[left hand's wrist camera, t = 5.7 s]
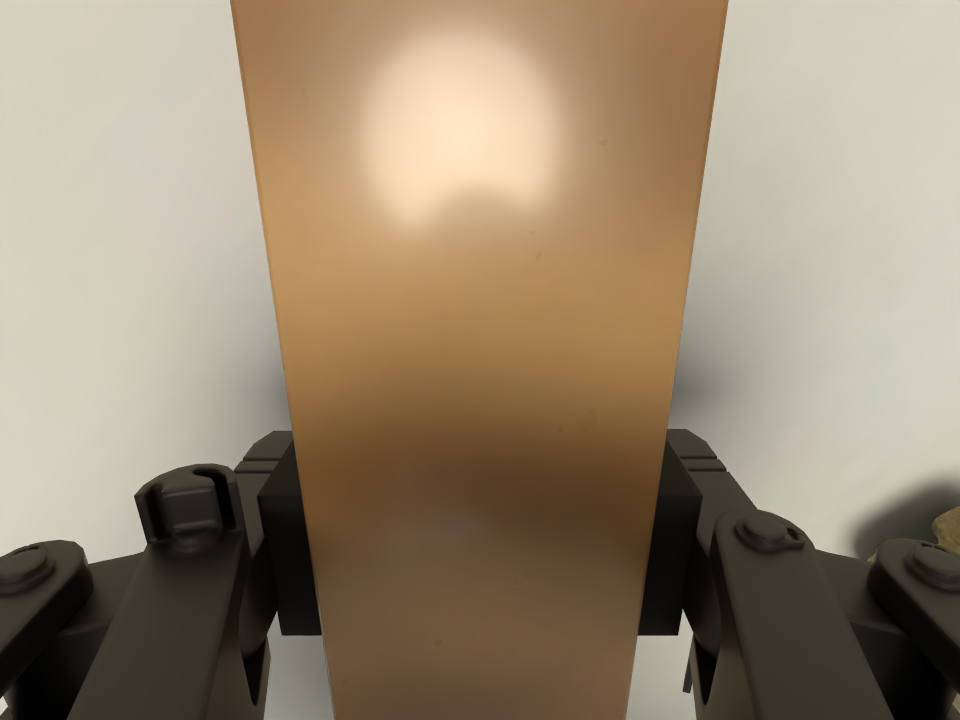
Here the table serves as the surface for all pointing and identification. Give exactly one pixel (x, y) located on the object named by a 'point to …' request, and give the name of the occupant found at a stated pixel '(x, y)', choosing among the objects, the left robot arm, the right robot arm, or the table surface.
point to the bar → (479, 328)
